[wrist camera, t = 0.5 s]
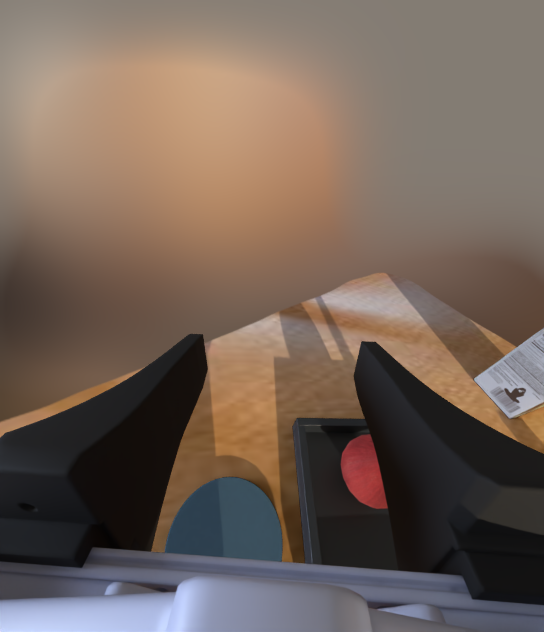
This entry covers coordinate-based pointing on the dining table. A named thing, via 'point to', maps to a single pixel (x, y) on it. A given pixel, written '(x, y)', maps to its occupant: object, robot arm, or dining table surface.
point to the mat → (227, 523)
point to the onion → (363, 472)
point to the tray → (337, 500)
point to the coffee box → (517, 378)
